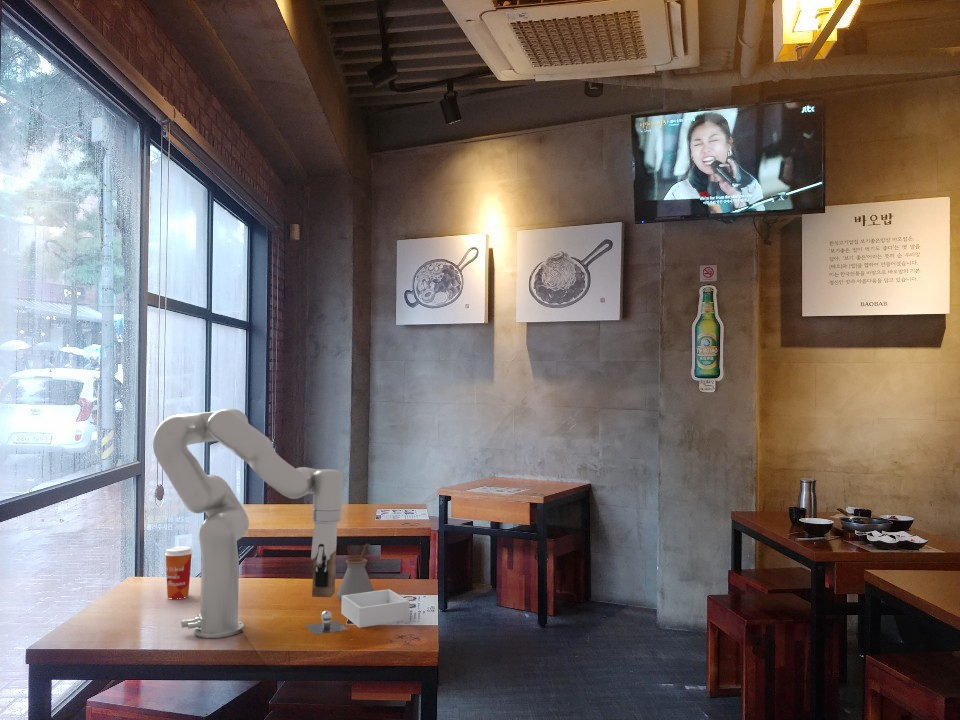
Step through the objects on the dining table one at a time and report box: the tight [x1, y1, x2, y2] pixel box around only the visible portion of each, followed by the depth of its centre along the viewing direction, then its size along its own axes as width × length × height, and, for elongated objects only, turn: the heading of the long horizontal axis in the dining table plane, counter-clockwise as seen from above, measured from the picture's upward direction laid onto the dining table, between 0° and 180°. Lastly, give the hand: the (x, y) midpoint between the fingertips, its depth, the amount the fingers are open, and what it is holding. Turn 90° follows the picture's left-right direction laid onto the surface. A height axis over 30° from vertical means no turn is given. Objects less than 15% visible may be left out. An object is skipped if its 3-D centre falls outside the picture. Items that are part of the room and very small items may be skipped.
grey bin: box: [340, 588, 410, 628], centre depth 209 cm, size 15×15×6 cm
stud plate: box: [304, 610, 348, 636], centre depth 199 cm, size 9×9×5 cm
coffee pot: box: [336, 543, 375, 602], centre depth 231 cm, size 21×12×15 cm, turn 175°
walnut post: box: [311, 550, 337, 598], centre depth 200 cm, size 5×5×11 cm
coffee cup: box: [164, 545, 194, 600], centre depth 232 cm, size 8×8×15 cm
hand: (323, 583), depth 199 cm, fingers closed on walnut post, 5 cm apart
